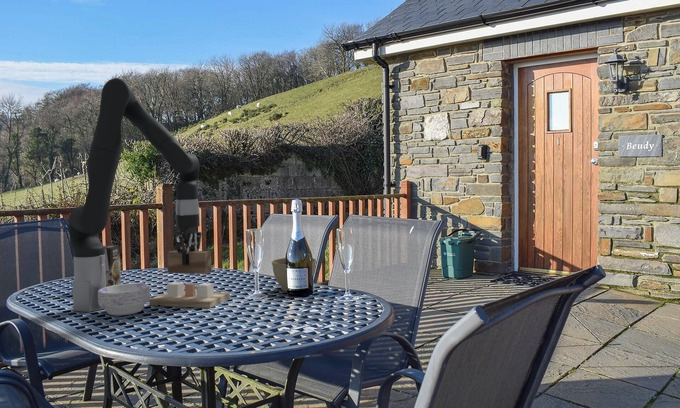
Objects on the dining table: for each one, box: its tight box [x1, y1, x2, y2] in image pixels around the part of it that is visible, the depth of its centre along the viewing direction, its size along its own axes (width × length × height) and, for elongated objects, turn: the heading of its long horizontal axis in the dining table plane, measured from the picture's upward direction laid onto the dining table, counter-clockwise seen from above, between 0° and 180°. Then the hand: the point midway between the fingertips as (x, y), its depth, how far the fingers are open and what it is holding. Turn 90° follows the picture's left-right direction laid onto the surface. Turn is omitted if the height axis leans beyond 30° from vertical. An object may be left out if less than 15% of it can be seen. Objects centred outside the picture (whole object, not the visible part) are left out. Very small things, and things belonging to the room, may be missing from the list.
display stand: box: [148, 281, 231, 309], centre depth 187 cm, size 14×22×6 cm, turn 75°
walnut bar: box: [166, 250, 212, 275], centre depth 186 cm, size 4×14×7 cm, turn 75°
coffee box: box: [103, 244, 122, 287], centre depth 211 cm, size 9×6×16 cm
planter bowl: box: [271, 257, 317, 292], centre depth 203 cm, size 16×16×11 cm
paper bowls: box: [98, 282, 151, 316], centre depth 174 cm, size 15×15×8 cm
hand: (189, 263), depth 186 cm, fingers closed on walnut bar, 4 cm apart
